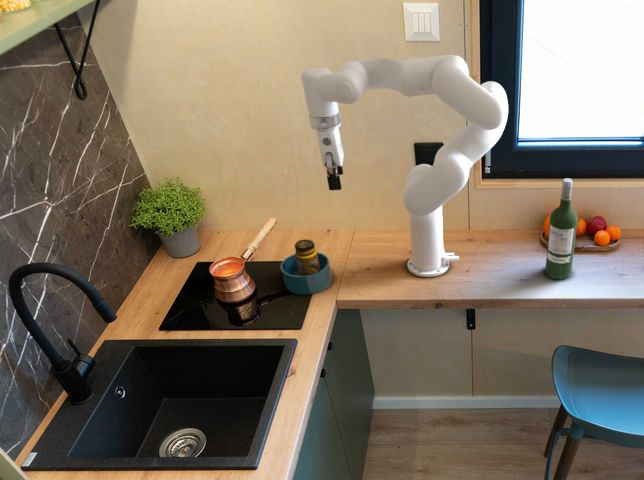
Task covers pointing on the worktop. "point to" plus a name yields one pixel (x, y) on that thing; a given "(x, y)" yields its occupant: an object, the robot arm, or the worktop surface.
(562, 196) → the wine bottle
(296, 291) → the bowl
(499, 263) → the worktop surface
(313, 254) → the condiment
